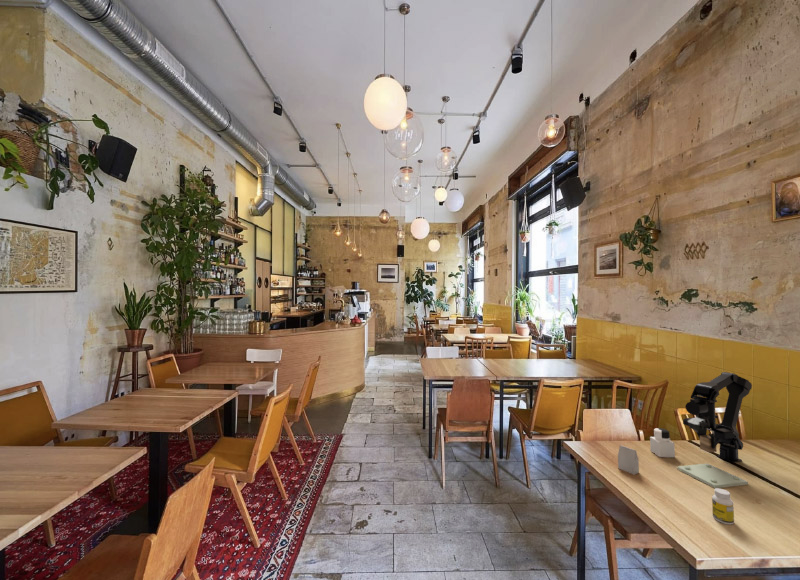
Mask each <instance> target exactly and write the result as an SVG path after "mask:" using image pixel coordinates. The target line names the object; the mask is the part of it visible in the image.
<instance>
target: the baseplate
mask: <svg viewBox="0 0 800 580" xmlns="http://www.w3.org/2000/svg"><path fill="white" fill-rule="evenodd" d="M676 469H677V470H678V471H681V472H682V473H684V474H686V475H688V476H690V477H691V478H694V479H696V480H698V481H700V482H701V483H704V484H706V485H707V486H710V487H711V488H714V489H715V488H720V489H723V488H730V487H738V486H739V485H740V486H746V485H747V486H748V485H749V481H747V480H745V479H744V478H741V477H739V476H736V475H735V474H732V473H729V472H727V471H726V470H723V469H721V468H719V467H716V466H715V465H712V464H710V463H697V464H689V465H679V466H677V467H676Z"/></svg>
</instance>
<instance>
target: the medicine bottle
mask: <svg viewBox="0 0 800 580" xmlns="http://www.w3.org/2000/svg"><path fill="white" fill-rule="evenodd" d="M670 437H671V436H670V431H669V430H667V429H665V428H662V427H658V428H657V427H656V428H654V429H653V436H650V437H649V445H650V452H652V453H653V454H654V453H655V454H654V455H656V456H658V458H675V457H676V450H675V448H676V447H675V442H673V441H672V440H671V438H670Z"/></svg>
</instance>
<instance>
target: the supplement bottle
mask: <svg viewBox="0 0 800 580" xmlns="http://www.w3.org/2000/svg"><path fill="white" fill-rule="evenodd" d="M713 490H714V491H713V492H714V494H713V495H712V497H711V503H712V516H713V519H714V520H716V521H717V522H719V523H722V524H724V525H733V524H734V523H735V513H734V511H735V510H734V509H735V506H734V500H732V499H731V493H730V492H729V490H726V489H723V488H714V489H713Z"/></svg>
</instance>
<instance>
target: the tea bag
mask: <svg viewBox="0 0 800 580" xmlns="http://www.w3.org/2000/svg"><path fill="white" fill-rule="evenodd" d="M617 453H618V454H617V467H618V469H619V470H621V471H623V472H626V473H629V474H631V475H633V476H635V475H637V474H639V473H640V470H639V469H640V466H639V464H640V463H639V456H638V453H637V450H636V449H633V448H630V447H627V446H625V445H622V444H620V445H619V448H618V452H617Z"/></svg>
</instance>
